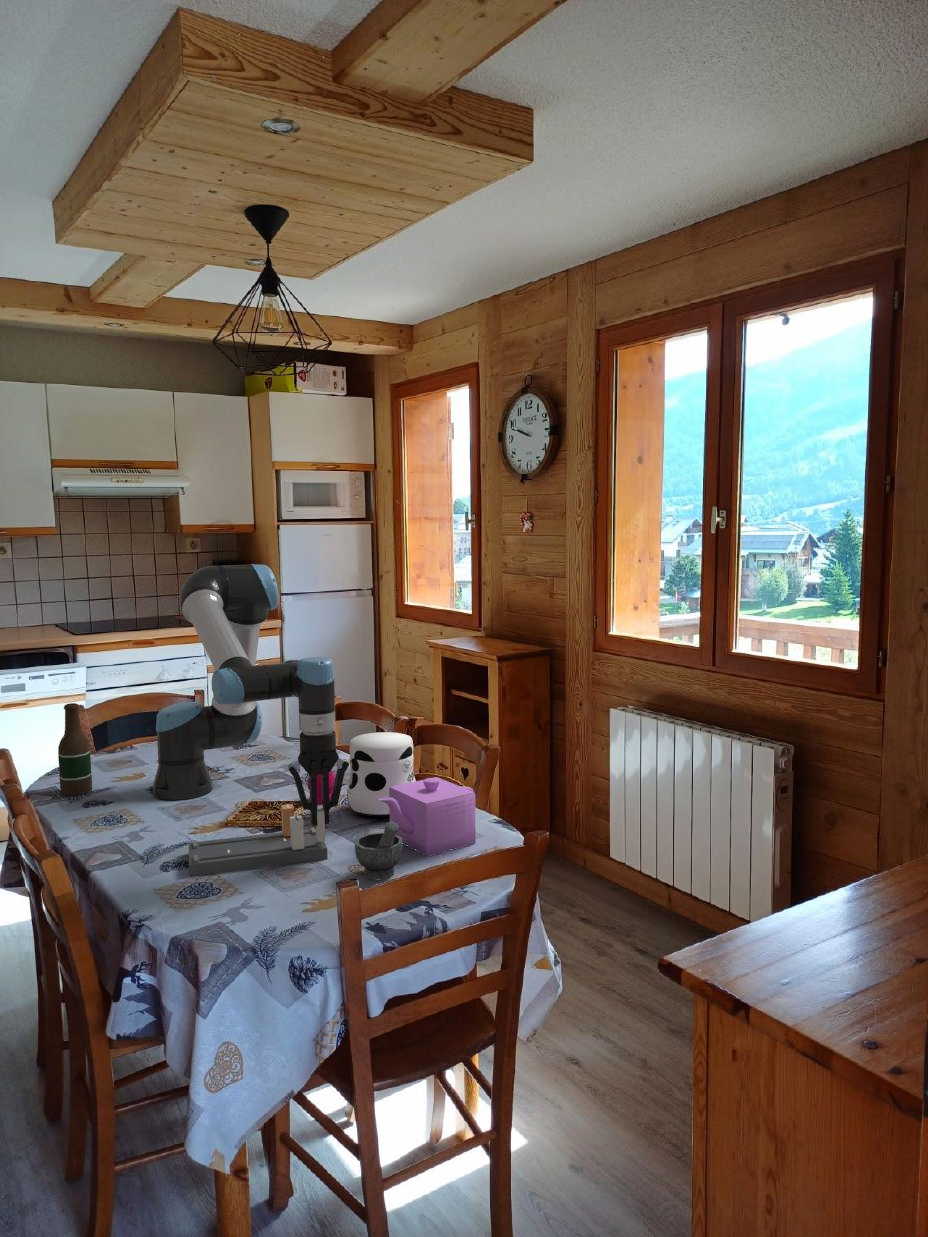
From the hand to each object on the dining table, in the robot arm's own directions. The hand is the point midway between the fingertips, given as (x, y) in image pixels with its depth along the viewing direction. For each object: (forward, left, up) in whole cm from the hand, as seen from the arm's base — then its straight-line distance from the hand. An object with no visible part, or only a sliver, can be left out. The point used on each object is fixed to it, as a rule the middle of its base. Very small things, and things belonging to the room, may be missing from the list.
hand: (320, 839), depth 190 cm
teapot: (-1, +24, -4) cm, 24 cm away
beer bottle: (-67, -55, -4) cm, 87 cm away
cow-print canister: (-25, +19, -4) cm, 32 cm away
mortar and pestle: (+14, +10, -4) cm, 18 cm away
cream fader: (0, -5, -1) cm, 5 cm away
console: (-4, -13, -4) cm, 14 cm away
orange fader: (-8, -6, -1) cm, 10 cm away
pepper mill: (-38, +6, -4) cm, 39 cm away
